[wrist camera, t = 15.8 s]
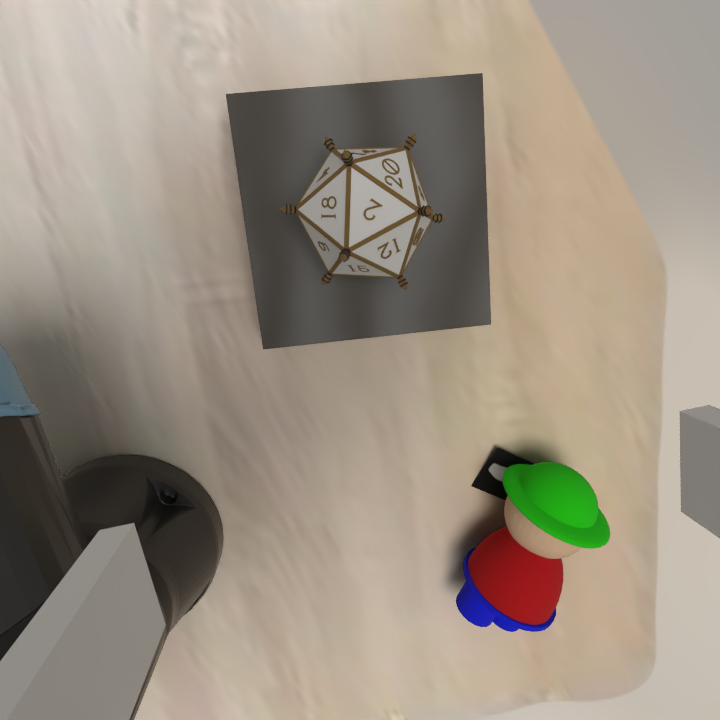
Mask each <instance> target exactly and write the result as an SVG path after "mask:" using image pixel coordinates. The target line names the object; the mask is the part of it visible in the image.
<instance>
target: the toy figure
mask: <svg viewBox="0 0 720 720" xmlns="http://www.w3.org/2000/svg"><path fill="white" fill-rule="evenodd" d="M472 486H473V487H475V488H477V489H480V490H482V491H485V492H487V493H489V494H492V495H494V496H497V497H499V498H501V499H504V500H506V502H505V506H504V515H505V522H506V525H507V526H505V527H503V528H501V529H499V530H496V531H495V532H493V533H492V534H490V535H489V536H487V537H486V538H485V539H484V540H483V541H482V542H481V543H480V544H479V545H478V546H477V547H476V548H473V549H472V550H470V551H469V552H468V554H467V556H466V557H465V559H464V562H463V570H464V576H465V578H466V582H465V584H464V586H463V587H462V589H461V590H460V592H459V594H458V595H457V598H456V604H457V607H458V609H459V611H460V612H461V614H462V615H463V616H464V617H465V618H466V619H467V620H468V621H469V622H471V623H473V624H474V625H477V626H480V627H487V626H489V625H490V624H491V623H492V621H493V622H494V623H495V624H496V625H497V626H499V627H500V628H502V629H504V630H506V631H511V632H514V631H517V630H518V629H522V630H525V631H532V632H534V631H542V630H545V629H546V628H548V627H549V626H550V625H551V623H552V622H553V621H554V618H555V616H556V605H557V603H558V601H559V597H560V594H561V590H562V584H563V564H562V559H561V558H564V557H567V556H570V555H572V554H574V553H576V552H577V551H578V550H580V549H581V548H582V547H583V548H599V547H601V546H603V545H605V544H606V543H607V542H608V541H609V538H610V529H609V525H608V522H607V520H606V518H605V517H604V515H603V513H602V512H601V510H600V509H599V508H598V501H597V498H596V495H595V493H594V490H593V489H592V487H591V486H590V484H589V483H588V482H587V480H586V479H585V478H584V477H583V476H582V475H580V474H579V473H578V472H576V471H575V470H573V469H572V468H570V467H567V466H565V465H562V464H559V463H554V462H540V463H536V464H534V463H531V462H529V461H527V460H525V459H522V458H520V457H518V456H516V455H513V454H511V453H509V452H507V451H504V450H502V449H500V448H497V450H496V451H495V453H494V454H493V455H492V457H491V458H490V460H489V461H488V463H487V464H486V465H485V467H484V468H483V470H482V471H481V473H480V474H479V476H478V477H477V478H476V480H475V481H474V483H473V484H472Z"/></svg>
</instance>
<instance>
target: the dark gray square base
mask: <svg viewBox="0 0 720 720" xmlns="http://www.w3.org/2000/svg"><path fill="white" fill-rule="evenodd" d="M226 98H227V105H228V112H229V118H230V125H231V132H232V139H233V146H234V153H235V159H236V166H237V173H238V180H239V187H240V194H241V200H242V207H243V214H244V221H245V228H246V235H247V241H248V248H249V255H250V262H251V269H252V276H253V282H254V289H255V296H256V303H257V310H258V316H259V323H260V330H261V337H262V344H263V349H270V348H279V347H289V346H298V345H307V344H316V343H325V342H334V341H343V340H352V339H362V338H371V337H380V336H389V335H398V334H407V333H416V332H425V331H435V330H444V329H453V328H462V327H471V326H480V325H489V324H491V310H490V281H489V252H488V222H487V193H486V164H485V135H484V105H483V76H482V73H480V74H467V75H455V76H443V77H431V78H418V79H406V80H394V81H381V82H369V83H357V84H345V85H332V86H320V87H308V88H295V89H283V90H271V91H258V92H246V93H234V94H226ZM415 133H416V142H417V143H415V144H414V145H413V146H414V147H412V148H410V150H409V151H410V154H411V157H412V160H413V162H414V165H415V168H416V171H417V173H418V176H419V179H420V182H421V184H422V187H423V190H424V193H425V195H426V198H427V201H428V204H429V206H430V207H431V209H432V210H434V211H433V212H432V215H435V214H439V213H440V214H442V216H443V217H444V218H446V219H445V220H443V221H441V222H440V223H438V222H436V223H435V222H434V221H432V222H431V224H430V225H429V227H428V229H427V231H426V233H425V235H424V236H423V238H422V240H421V242H420V244H419V246H418V247H417V249H416V251H415V253H414V255H413V257H412V258H411V260H410V262H409V264H408V266H407V267H406V269H405V271H404V273H403V277H404V278H405V279H406V281H407V282H408V286H407V291H406V290H405V289H403V288H401V287H400V285H399V284H398V279H397V278H385V277H366V276H347V275H332V277H331V280H330V283H327V284H325V285H323V286H322V278H323V277H324V274H326V273H327V272H328V271H327V270H326V268H325V266H324V264H323V262H322V260H321V258H320V257H319V255H318V253H317V251H316V249H315V247H314V246H313V244H312V242H311V240H310V238H309V236H308V235H307V233H306V231H305V229H304V227H303V225H302V224H301V222H300V220H299V218H298V216H297V214H296V213H292V214H291V215H290V214H287V215H286V214H285V213H284V212H283V211H281V210H280V209H279V208H281V207H283V206H284V205H286V204H287V205H290V204H291V205H292V206H294V207H295V206H296V205H297V204H298V202H299V201H300V199H301V197H302V196H303V194H304V193H305V191H306V189H307V188H308V186H309V185H310V183H311V181H312V180H313V178H314V177H315V175H316V173H317V172H318V170H319V169H320V167H321V165H322V164H323V162H324V161H325V159H326V157H327V156H328V154H329V153H330V151H329V150H328V149H326V146H324V143H325V136H326V137H328V138H329V139H330V138H331V139H332V140H333V143H334V144H335V145H334V147H335V148H373V147H404V146H405V143H406V142H405V141H407V139H408V136H411V135H413V134H415Z"/></svg>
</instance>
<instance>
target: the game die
mask: <svg viewBox="0 0 720 720" xmlns="http://www.w3.org/2000/svg"><path fill="white" fill-rule="evenodd" d="M405 142H406V143H405V146H404V147H373V148H335V147H334V145H335V144H334V143H333V140H332V139H331V138H330V139H329V138H328V137H326V136H325V143H324V146H326V149H328V150H329V151H330V153H329V154H328V156H327V157H326V159H325V161H324V162H323V164H322V165H321V167H320V169H319V170H318V172H317V173H316V175H315V177H314V178H313V180H312V181H311V183H310V185H309V186H308V188H307V189H306V191H305V193H304V194H303V196H302V197H301V199H300V201H299V202H298V204H297V205H296V206H295V207H294V206H292V205H291V204H290V205H287V204H286V205H284V206H283V207H281V208H279V209H280V210H281V211H283V212H284V213H285V214H286V215H287V214H290V215H291V214H292V213H296V214H297V216H298V218H299V220H300V222H301V224H302V225H303V227H304V229H305V231H306V233H307V235H308V236H309V238H310V240H311V242H312V244H313V246H314V247H315V249H316V251H317V253H318V255H319V257H320V258H321V260H322V262H323V264H324V266H325V268H326V270H327V271H328V272H327V273H326V274H324V277H323V278H322V286H323V285H325V284H327V283H330V280H331V277H332V275H347V276H366V277H385V278H397V279H398V284H399V285H400V287H401V288H403V289H405V290H406V291H407V286H408V282H407V281H406V279H405V278H404V277H403V273H404V271H405V269H406V267H407V266H408V264H409V262H410V260H411V258H412V257H413V255H414V253H415V251H416V249H417V247H418V246H419V244H420V242H421V240H422V238H423V236H424V235H425V233H426V231H427V229H428V227H429V225H430V224H431V222H432V221H434V222H435V223H436V222H438V223H440V222H441V221H443V220H445V219H446V218H444V217H443V216H442V214H440V213H439V214H435V215H432V212H433V211H434V210H432V209H431V207H430V206H429V204H428V201H427V198H426V195H425V193H424V190H423V187H422V184H421V182H420V179H419V176H418V173H417V171H416V168H415V165H414V162H413V160H412V157H411V154H410V151H409V150H410V148H412V147H414V146H413V145H414V144H415V143H417V142H416V133H415V134H413V135H411V136H408V139H407V141H405Z"/></svg>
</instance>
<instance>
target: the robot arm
mask: <svg viewBox="0 0 720 720" xmlns="http://www.w3.org/2000/svg"><path fill="white" fill-rule="evenodd" d="M38 414H40V410H39V408H38V406H37V405H34V404H32V402H31V400H30V398H29V396H28V394H27V392H26V390H25V388H24V386H23V384H22V382H21V380H20V378H19V376H18V374H17V371H16V369H15V367H14V365H13V362H12V360H11V358H10V356H9V355H8V353H7V352H6V351H5V350H4V349H3V348H2V347H1V346H0V720H134V718H135V716H136V713H137V711H138V708H139V706H140V703H141V701H142V698H143V696H144V693H145V691H146V688H147V686H148V683H149V681H150V678H151V676H152V673H153V671H154V668H155V666H156V663H157V661H158V658H159V656H160V653H161V651H162V648H163V645H164V643H165V640H166V638H167V635H168V633H169V632H170V631H171V630H172V628H173V627H174V626H175V625H176V624H177V623H178V621H179V620H180V619H181V618H182V617H183V616H184V615H185V614H186V613H187V612H188V611H190V610H191V609H192V608H193V607H194V606H195V605H196V604H197V603H198V602H199V600H200V599H201V598H202V597H203V595H204V594H205V592H206V591H207V589H208V588H209V586H210V584H211V582H212V580H213V578H214V575H215V572H216V569H217V566H218V563H219V560H220V557H221V553H222V547H223V529H222V524H221V520H220V516H219V514H218V511H217V509H216V507H215V505H214V503H213V501H212V500H211V498H210V497H209V495H208V494H207V492H206V491H205V490H204V489H203V488H202V487H201V486H200V485H199V484H198V483H197V482H196V481H195V480H194V479H193V478H192V477H190V476H189V475H188V474H186V473H185V472H183V471H182V470H180V469H178V468H176V467H174V466H172V465H170V464H168V463H165V462H163V461H160V460H157V459H153V458H148V457H143V456H134V455H119V456H111V457H105V458H101V459H97V460H94V461H91V462H89V463H86V464H84V465H82V466H80V467H78V468H77V469H75V470H73V471H72V472H70V473H69V474H68V475H67V476H65V477H64V478H63V479H62V478H61V476H60V473H59V470H58V468H57V465H56V463H55V460H54V457H53V455H52V452H51V449H50V447H49V444H48V441H47V439H46V436H45V433H44V431H43V428H42V426H41V423H40V420H39V418H38ZM680 467H681V468H680V469H681V512H683V513H684V514H685V515H687V516H688V517H690V518H691V519H693V520H694V521H695V522H697V523H698V524H700V525H701V526H703V527H704V528H706V529H707V530H709V531H710V532H711V533H713V534H714V535H716V536H717V537H719V538H720V409H718V408H715V407H713V406H710V405H707V406H703V407H698V408H693V409H688V410H683V411H680Z"/></svg>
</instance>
